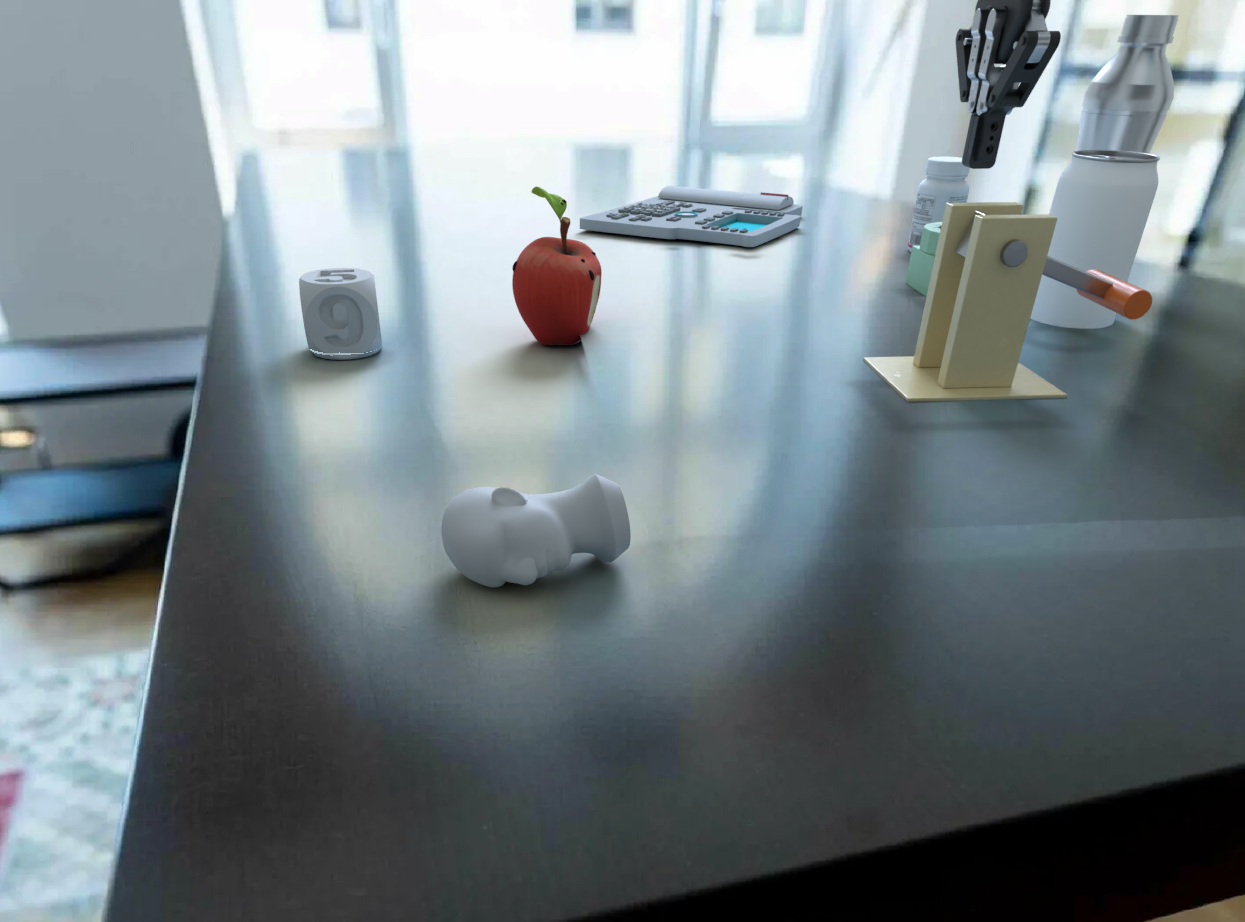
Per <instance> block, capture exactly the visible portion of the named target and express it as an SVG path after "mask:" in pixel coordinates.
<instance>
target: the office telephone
mask: <svg viewBox="0 0 1245 922" xmlns="http://www.w3.org/2000/svg"><path fill="white" fill-rule="evenodd" d="M794 201H795V200H794V198H793V197H792V196H789V194H784V193H772V192H762V191H760V193H755V192H746V191H734V190H723V189H712V188H711V189H710V188H700V187H692V186H691V187H690V186H680V185H678V186H677V185H666V186H664V187H663V188H662V189H661V190H660V191H659V193H658V195H657V196H653V197H650V198H646V199H643V200H639V201H636V202H633V203H629V204H626V205H622V206H618V207H615V208H611V209H608V210H604V211H601V212H598V213H594V214H590V215H586V216H583V217H580V218H579V229H580V230H584V231H591V232H592V231H593V232H601V233H608V234H609V233H610V234H619V235H626V236H627V235H628V236H635V237H636V236H637V237H645V238H655V239H664V240H677V239H678V240H688V241H697V242H707V243H714V244H722V245H733V246H741V247H744V248H754V247H758V246H760V245H762V244H764V243H768V242H769V241H772V240H774V239H776V238H779V237H781V236H783V235H786V234H787V233H790V232H792V231H794V230H796V229H798V228H799V227H800V224H801V217H802V215H803V205H802V204H796V203H795V202H794Z"/></svg>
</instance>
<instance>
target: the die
mask: <svg viewBox="0 0 1245 922" xmlns="http://www.w3.org/2000/svg"><path fill="white" fill-rule="evenodd" d="M298 288H299V289H298V290H299V300H300V307H301V315H302V321H303V328H304V332H305V338H306V342H307V343H306V344H307V347H308V350H309V349H312V350H314V351H318V352H323V353H339V352H340V353H364V354H351V355H333V356H330V355H322V354H317V353H314V352H311V353H312V354H313V355H314V356H316V357H318V358H321V359H324V360H325V359H326V360H332V361H333V360H334V361H338V360H339V361H347V360H349V361H350V360H358V359H363V358H368V357H370V356H373V355H376V354H377V353H379V352H380V351H381V349H382V348H383V339H382V330H381V323H380V313H379V306H378V297H377V288H376V281H375V275H374V274H373V273H372V272H371V271H369V270H366V269H363V268H355V267H330V268H329V267H328V268H321V269H315V270H311V271H308V272H306V273H303V274H302V275H301V276H300V277H299V278H298ZM376 349H377V350H376ZM374 350H375V351H374ZM370 351H372V352H370ZM366 352H368V353H366Z"/></svg>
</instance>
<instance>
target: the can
mask: <svg viewBox="0 0 1245 922" xmlns="http://www.w3.org/2000/svg"><path fill="white" fill-rule="evenodd" d="M1071 156H1072V157H1071V159H1070V161H1069V162H1068V164H1067V165H1066V166H1065V168H1064V169H1063V170H1062V172H1061V173H1060V174H1059V177H1058V181H1057V183H1056V187H1055V191H1054V194H1053V197H1052V201H1051V204H1050V207H1049V208H1050V209H1049V211H1048V214H1049V215H1052V216H1055V217H1057V222H1056V226H1055V229H1054V233H1053V237H1052V240H1051V244H1050V248H1049V251H1048V255H1047V256H1049V257H1052V258H1054V259H1057V260H1059V261H1061V262H1064V263H1066V264H1069V265H1071V266H1073V267H1076V268H1078V269H1080V270H1083V271H1085V272H1086V271H1087V270H1090V269H1097V270H1100V271H1102V272H1104V273H1107V274H1109V275H1111V276H1114V277H1116V278H1118V279H1121V280H1123V281H1125V282H1128V280H1129V278H1130V274H1131V271H1132V268H1133V265H1134V263H1135V259H1136V256H1137V253H1138V249H1139V247H1140V244H1141V241H1142V238H1143V236H1144V235H1143V234H1144V231H1145V228H1146V225H1147V222H1148V218H1149V216H1150V213H1151V209H1152V207H1153V203H1154V200H1155V197H1156V194H1157V191H1158V187H1159V174H1158V162H1159V161H1160V160H1161V157H1160V156H1159V155H1156V154H1152V153H1150V154H1147V153H1140V152H1131V151H1118V150H1079V151H1076V150H1074V151H1072V152H1071ZM1117 314H1118V313H1116V312H1114V311H1112V310H1110V309H1108V308H1106V307H1103V306H1101V305H1099V304H1097V303H1095V302H1093V301H1091V300H1089V299H1087V298H1085V297H1083V296H1081V295H1079V294H1078V292H1077V289H1076V288H1073V287H1071V286H1068V285H1066V284H1064V283H1061V282H1059V281H1056V280H1054V279H1051V278H1049V277H1047V276H1044V275H1042V277H1041V281H1040V284H1039V288H1038V292H1037V295H1036V299H1035V303H1034V306H1033V310H1032V314H1031V317H1030V320H1032V321H1034V322H1037V323H1040V324H1045V325H1049V326H1056V327H1060V328H1068V329H1069V328H1070V329H1082V330H1083V329H1084V330H1085V329H1086V330H1088V329H1090V330H1091V329H1093V330H1095V329H1103V328H1107V327H1110V326H1112V325H1113V324H1114V323H1115V319H1116V317H1117Z"/></svg>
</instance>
